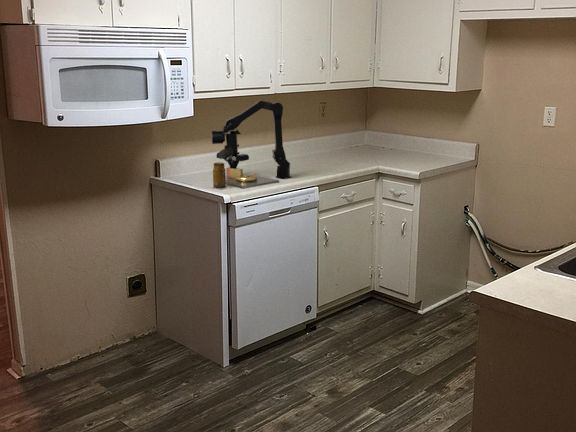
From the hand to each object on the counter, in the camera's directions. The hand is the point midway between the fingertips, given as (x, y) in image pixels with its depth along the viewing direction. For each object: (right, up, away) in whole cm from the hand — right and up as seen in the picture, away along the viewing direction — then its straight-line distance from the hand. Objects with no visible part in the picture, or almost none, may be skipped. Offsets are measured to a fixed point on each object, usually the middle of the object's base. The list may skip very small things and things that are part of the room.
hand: (233, 172), depth 334 cm
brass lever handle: (+5, -4, -6) cm, 9 cm away
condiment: (-5, -9, -20) cm, 22 cm away
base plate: (+7, -5, -7) cm, 11 cm away
